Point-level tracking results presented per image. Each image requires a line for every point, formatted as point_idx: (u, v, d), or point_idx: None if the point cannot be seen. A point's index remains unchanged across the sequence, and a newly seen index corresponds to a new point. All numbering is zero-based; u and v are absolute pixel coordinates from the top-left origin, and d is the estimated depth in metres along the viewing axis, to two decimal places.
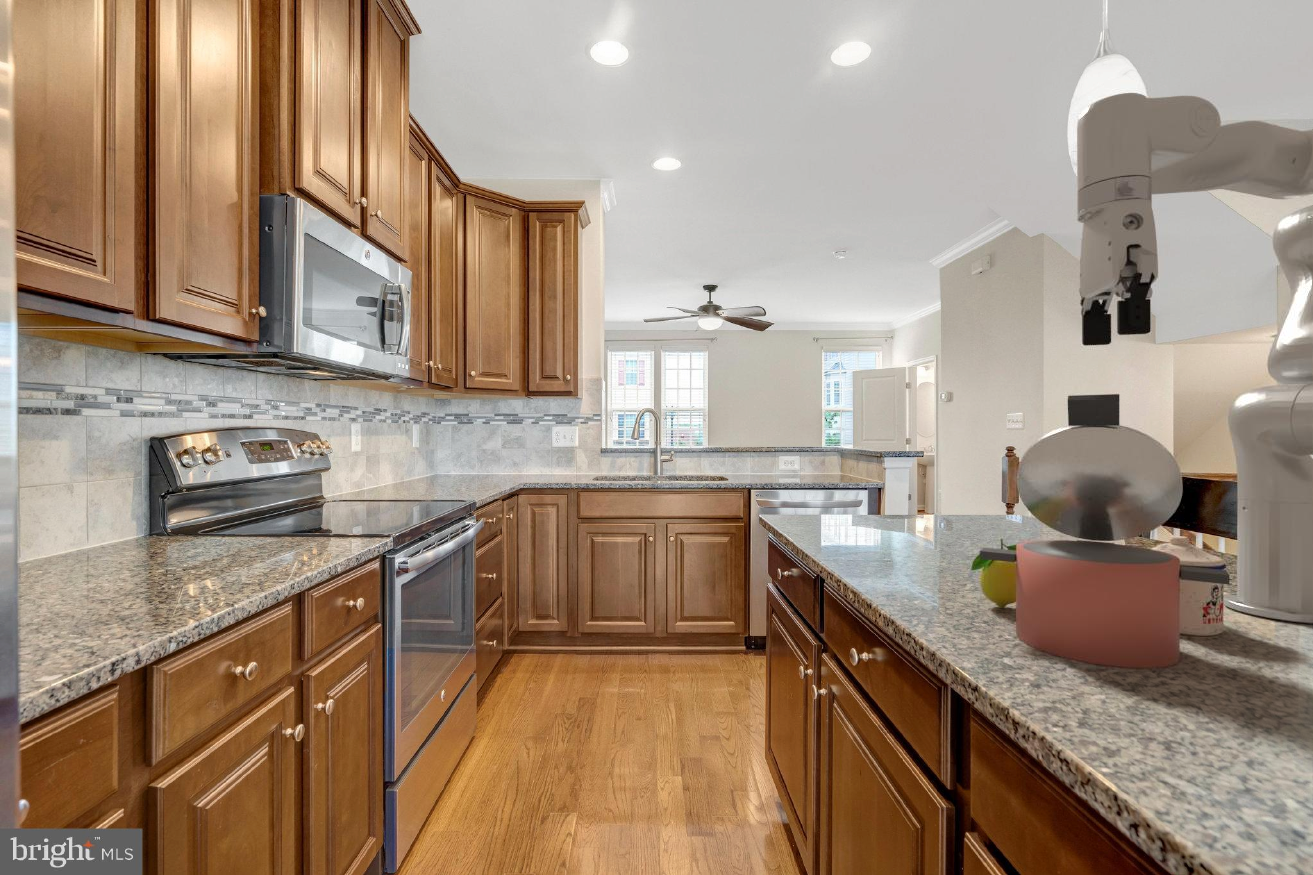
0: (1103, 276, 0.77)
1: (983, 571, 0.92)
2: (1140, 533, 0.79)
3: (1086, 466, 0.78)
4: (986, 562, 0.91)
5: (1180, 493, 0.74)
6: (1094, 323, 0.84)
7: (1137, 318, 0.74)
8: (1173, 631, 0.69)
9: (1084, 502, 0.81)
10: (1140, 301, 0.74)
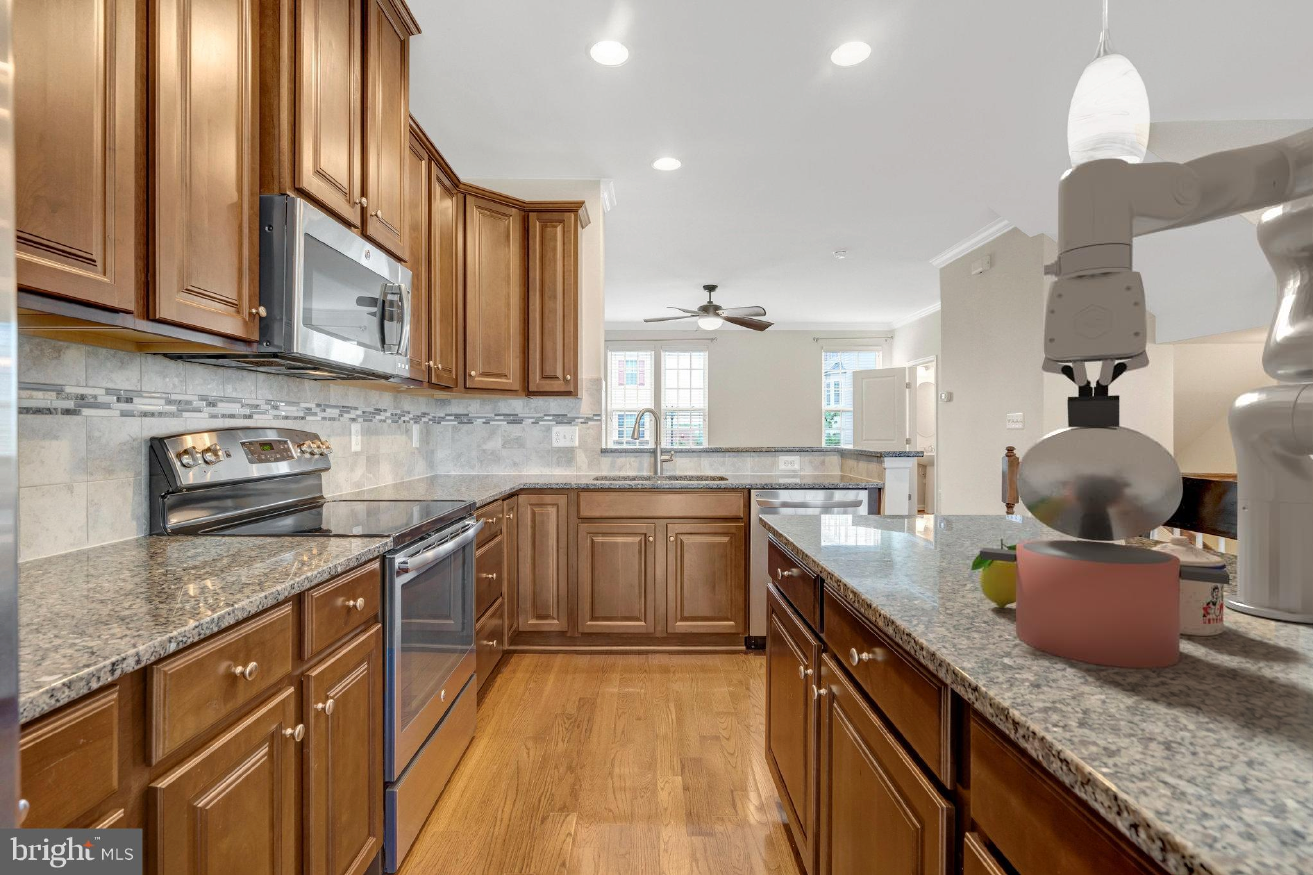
0: None
1: (983, 571, 0.92)
2: (1140, 533, 0.79)
3: (1086, 467, 0.78)
4: (986, 562, 0.91)
5: (1180, 494, 0.74)
6: None
7: None
8: (1173, 631, 0.69)
9: (1084, 503, 0.81)
10: None
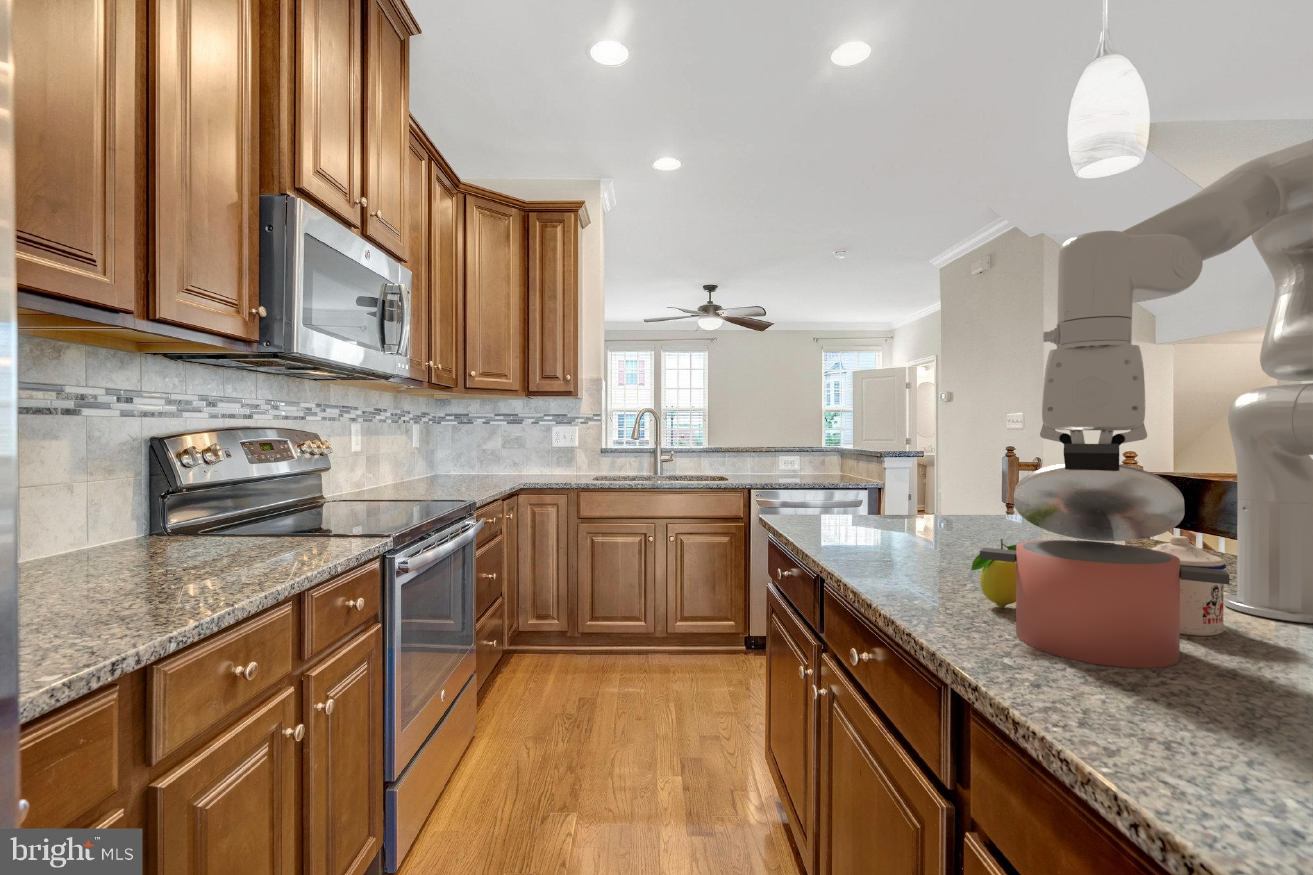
0: None
1: (983, 571, 0.92)
2: (1140, 537, 0.79)
3: (1084, 495, 0.76)
4: (986, 562, 0.91)
5: (1182, 515, 0.72)
6: None
7: None
8: (1173, 631, 0.69)
9: (1083, 517, 0.79)
10: None
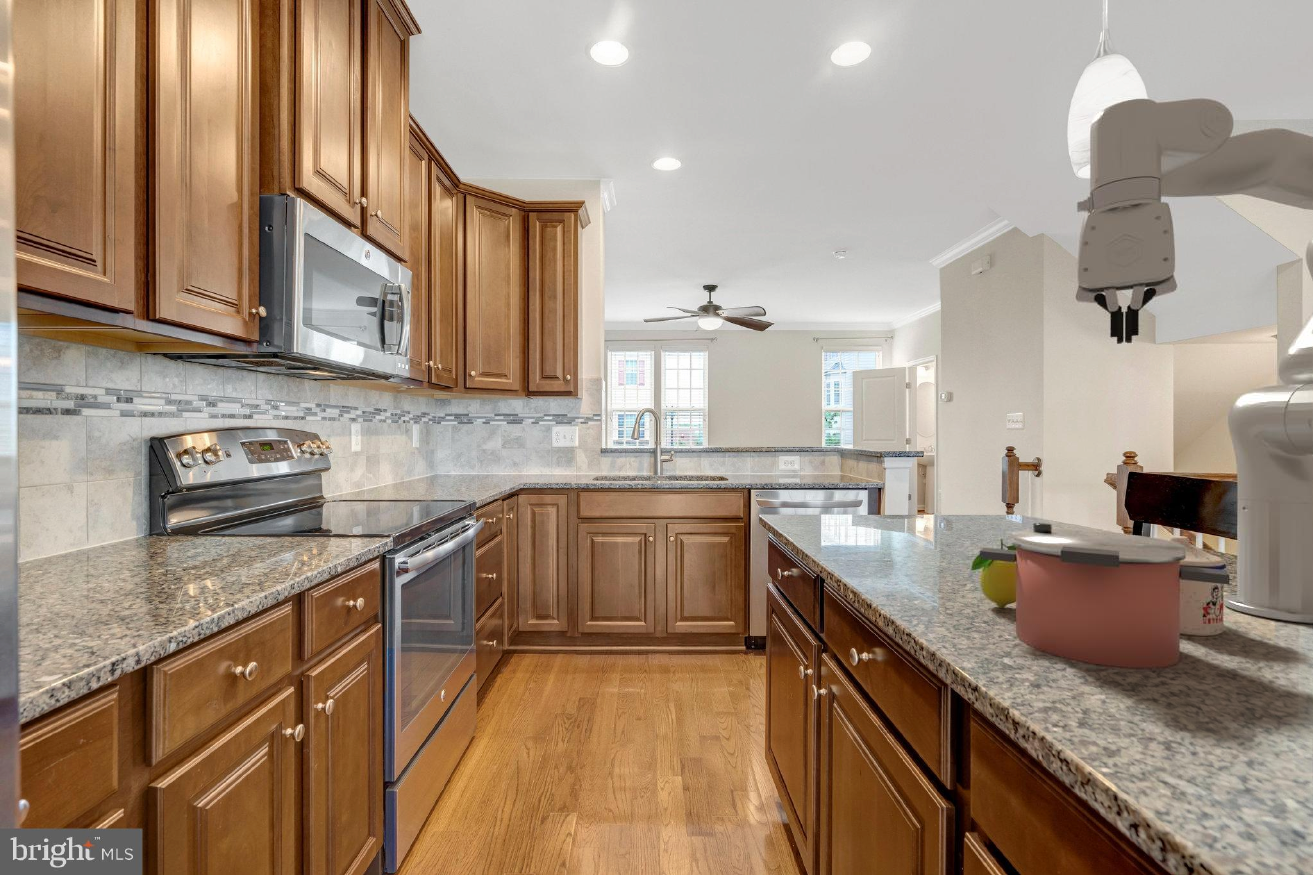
0: None
1: (983, 571, 0.92)
2: None
3: None
4: (986, 562, 0.91)
5: None
6: None
7: None
8: (1173, 631, 0.69)
9: None
10: (1110, 315, 0.84)
